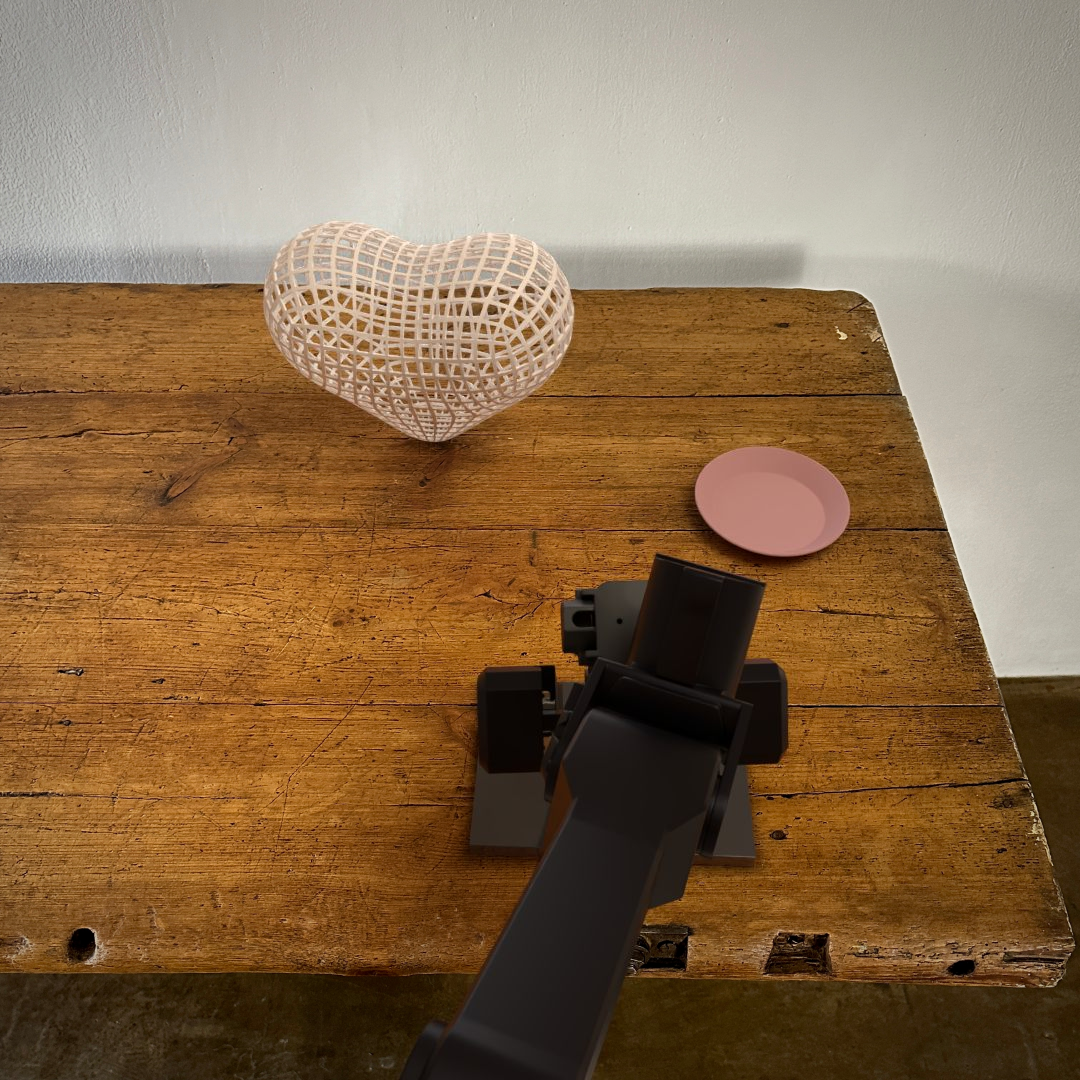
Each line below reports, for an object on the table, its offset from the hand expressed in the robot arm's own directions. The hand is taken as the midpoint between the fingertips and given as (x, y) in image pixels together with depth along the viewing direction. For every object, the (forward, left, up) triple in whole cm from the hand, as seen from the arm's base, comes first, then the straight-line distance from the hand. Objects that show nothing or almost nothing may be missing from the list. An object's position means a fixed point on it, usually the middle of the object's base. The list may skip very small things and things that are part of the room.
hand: (616, 688), depth 68 cm
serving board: (-1, 0, -9) cm, 9 cm away
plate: (+27, -15, -9) cm, 32 cm away
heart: (+36, +18, -9) cm, 41 cm away
